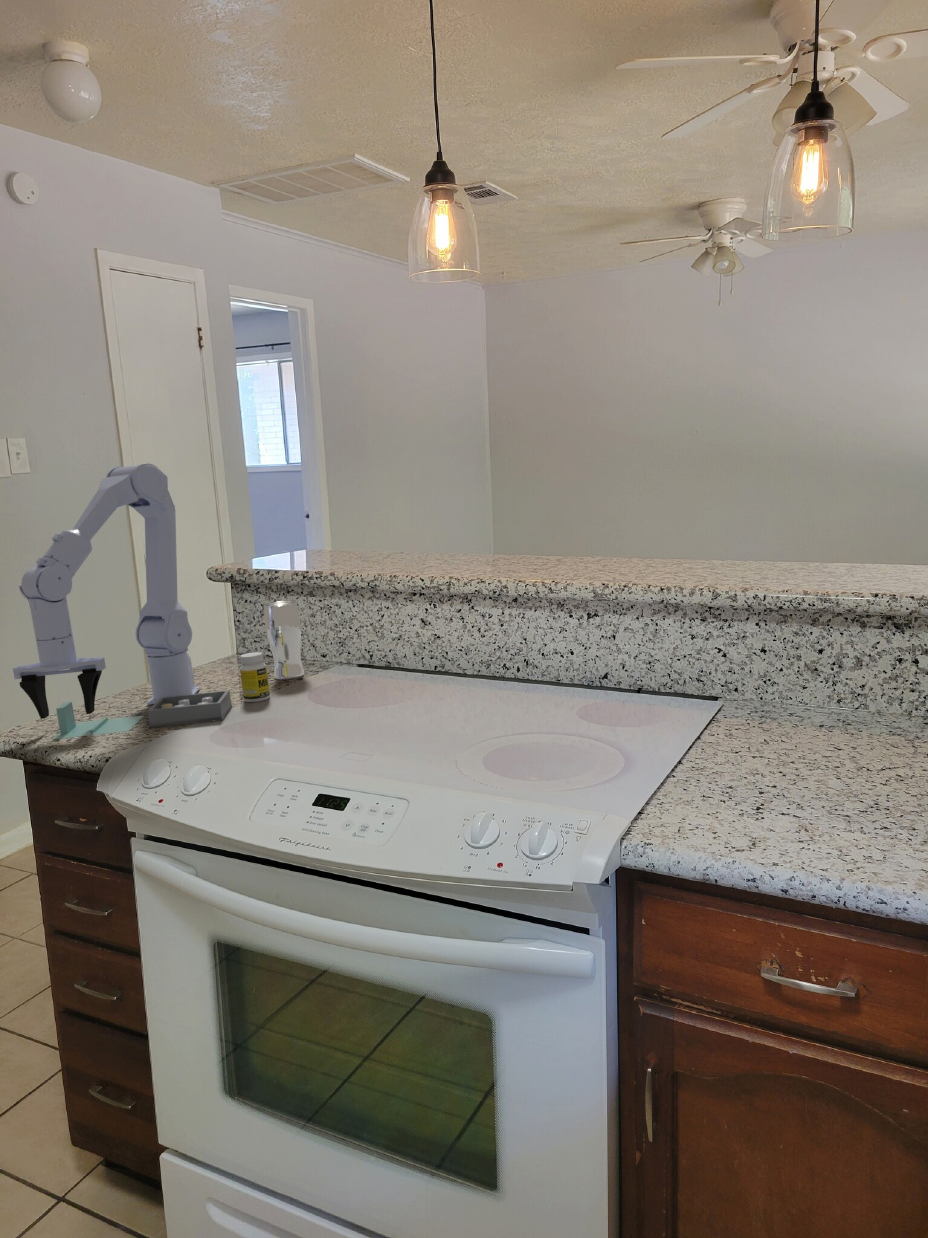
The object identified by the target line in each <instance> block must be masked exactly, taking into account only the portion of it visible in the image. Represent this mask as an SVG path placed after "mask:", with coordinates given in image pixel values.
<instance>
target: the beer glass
mask: <svg viewBox="0 0 928 1238" xmlns="http://www.w3.org/2000/svg"><path fill="white" fill-rule="evenodd" d="M263 615H264V626H265V632H266V637H267V640H268V643H269V647H270V650H271V653H272V656H273V662H274V671H273V673H274V674H273V678H274V679H275V680H279V681H281V680H285V681H286V680H291V679H297V678H301V677H303V676H304V675H305V670H304V666H303V663H302V659H301V658H302V657H301V642H302V625H301V624H302V623H301V616H300V612H299V607H298V601H297V600H295V599H294V600H293V599H292V600H291V599H289V600H287V599H286V600H279V601H272V602H268V603H265V604H263Z"/></svg>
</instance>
